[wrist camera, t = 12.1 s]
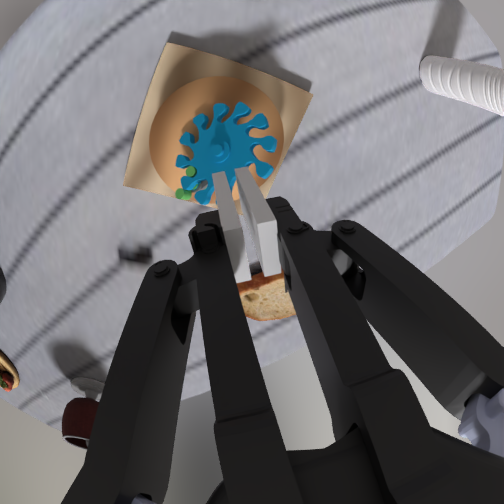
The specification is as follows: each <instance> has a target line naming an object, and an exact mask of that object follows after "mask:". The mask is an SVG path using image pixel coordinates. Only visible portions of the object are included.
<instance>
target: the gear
mask: <svg viewBox="0 0 504 504" xmlns="http://www.w3.org/2000/svg"><path fill="white" fill-rule="evenodd" d="M213 111H214V118H213V121H212V124H211V126H210V127H209V128H208V129H207V130H206V126H207V124H208V122H209V118H208V116H206V115H205V114H203V113H201V114H199V115H197V116H195V117H194V118H193V123H194V124H195V125H196V126H197V128H198V130H199V140H198V141H197V142H196V143H195V137H194V135H193V134H191V133H189V132H185V133H184V134H183V135H182V136H181V138H180V140H179V142H180V143H181V144H183V145H186V146H189V147H190V148H191V149H192V151H193V153H194V157H193V159H192V160H191V161H190V159H189V157H187V156H185V155H182V154H179V155H178V156H177V159H176V164H175V166H176V167H178V168H182V169H185V168H187V169H186V175H187V176H183V177H182V178H181V185H182V188H183V189H182V188H178V189H177V190H176V192H175V196H176V198H177V199H183V200H189V199H190V198H191V196H192V193H195V195H194V197H195V199H196V201H197V202H199V203H200V204H201V205H207V204H209V202H210V200H211V196H212V194H213V192H214V191H215V189H214V183H213V178H212V174H213V173H217V172H222V171H225V174H226V177H227V181H228V184H229V187H230V190H231V193H232V190H233V186H234V184H235V182H236V175H235V169H237V168H242V167H248V168H249V166H250V165H251V164H253V163H255V166H256V173H257V175H258V176H259V177H261V178H264V179H266V178H268V177H269V176H270V175H271V173H272V172H273V170H274V168H273V166H271V165H270V164H268V163H267V162H262V161H260V160H258V158H257V157H256V156H255V154H254V152H253V150H254V147H255V146H257V145H261V146H262V148H263V149H265V150H266V151H267V152H269V153H273V152H275V150H276V147H277V139H275V138H274V137H273V136H265V137H262V138H254V137H251V136H249V132H250V130H251V129H253V128H258V129H261V130H265V129H267V128H268V127H269V123H268V120H267V118H266V116H265V115H264V114H263V113H259V114H257V115H255V117H254V118H253V119H251V120H250V121H248V122H246V123H244V124H239V125H237V121H238V120H239V119H240V118H242V117H246V116H249V115H250V114H251V112H252V110H251V109H250V108H249V107H248V106H247V105H246V104H244V103H242V102H238V103H237V104H236V106H235V109H234V112H233V113H232V115H231V116H230V117H229V118H228V119H227V120H226V121H224V122H223V123H221V120H222V118H223V117H224V116H226V115H227V114H228V112H229V107H228V106H227V105H226V104H223V103H217V104H215V105H214V106H213ZM216 205H217V200H216Z"/></svg>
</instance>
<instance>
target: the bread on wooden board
mask: <svg viewBox="0 0 504 504" xmlns="http://www.w3.org/2000/svg"><path fill="white" fill-rule="evenodd" d="M312 97H313V94H311V93H309V92H307V91H305V90H303V89H301V88H299V87H296V86H294V85H292V84H290V83H288V82H285V81H283V80H281V79H279V78H276V77H274V76H271V75H269V74H267V73H264V72H262V71H259V70H257V69H254V68H251V67H249V66H246V65H243V64H240V63H238V62H235V61H232V60H229V59H226V58H223V57H220V56H217V55H213V54H210V53H207V52H203V51H200V50H196V49H193V48H189V47H185V46H181V45H177V44H173V43H168V42H167V43H166V45H165V48H164V50H163V53H162V55H161V58H160V60H159V63H158V65H157V68H156V71H155V73H154V76H153V79H152V81H151V84H150V87H149V90H148V93H147V96H146V99H145V102H144V105H143V109H142V112H141V115H140V118H139V122H138V125H137V129H136V133H135V136H134V140H133V144H132V148H131V152H130V156H129V160H128V164H127V169H126V173H125V178H124V183H123V186H127V187H131V188H135V189H140V190H144V191H148V192H153V193H157V194H161V195H165V196H169V197H173V198H176V196H175V192H176V190H177V189H178V188H182V185H181V178H182V177H183V176H187V175H186V169H187V168H185V169H182V168H178V167H176V166H175V164H176V159H177V156H178V155H179V154H182V155H185V156H187V157H189V159H190V161H191V160H192V159H193V157H194V153H193V151H192V149H191V148H190V147H189V146H186V145H183V144H181V143H180V142H179V140H180V138H181V136H182V135H183V134H184V133H185V132H189V133H191V134H193V135H194V137H195V143H196V142H197V141H198V140H199V130H198V128H197V126H196V125H195V124H194V123H193V118H194V117H195V116H197V115H199V114H201V113H203V114H205V115H206V116H208V118H209V122H208V124H207V126H206V130H207V129H208V128H209V127H210V126H211V124H212V121H213V118H214V111H213V106H214V105H215V104H217V103H223V104H226V105H227V106H228V107H229V112H228V114H227V115H226V116H224V117H223V118H222V120H221V123H223V122H224V121H226V120H227V119H228V118H229V117H230V116H231V115H232V113H233V112H234V109H235V106H236V104H237V103H238V102H242V103H244V104H246V105H247V106H248V107H249V108H250V109H251V110H252V112H251V114H250V115H249V116H246V117H242V118H240V119H239V120H238V121H237V125H239V124H244V123H246V122H248V121H250V120H251V119H253V118H254V117H255V115H257V114H259V113H263V114H264V115H265V116H266V118H267V120H268V123H269V127H268V128H267V129H265V130H261V129H258V128H253V129H251V130H250V132H249V136H251V137H254V138H262V137H265V136H273V137H274V138H275V139H277V147H276V150H275V152H273V153H269V152H267V151H266V150H265V149H263V148H262V146H261V145H257V146H255V147H254V150H253V152H254V154H255V156H256V157H257V158H258V160H260V161H262V162H267V163H268V164H270V165H271V166H273V168H274V170H273V172H272V173H271V175H270V176H269V177H268V178H266V179H264V178H261V177H259V176H258V175H257V173H256V166H255V163H253V164H251V165H250V166H249V168H248V169H249V171H250V172H251V174H252V176H253V178H254V180H255V181H256V183H257V185H258V187H259V189H260V191H261V192H262V194H263V196H264V198H265V199H266V197H267V195H268V192H269V190H270V188H271V186H272V184H273V181H274V179H275V177H276V175H277V173H278V170H279V168H280V166H281V164H282V162H283V160H284V157H285V155H286V153H287V151H288V149H289V146H290V144H291V142H292V140H293V138H294V136H295V133H296V131H297V129H298V127H299V125H300V123H301V121H302V118H303V116H304V114H305V112H306V110H307V108H308V105H309V103H310V101H311V99H312ZM182 189H183V188H182ZM194 195H195V193H192V196H191V198H190V199H189V200H185V201H189V202H193V203H197V204H200V203H199V202H197V201H196V199H195V197H194ZM232 197H233V200H234V203H235V206H236V210H237V213H238V214H239V215H243V212H242V209H241V204H240V198H239V192H238V186H237V181H236V182H235V184H234V186H233V190H232ZM181 200H183V199H181ZM205 206H209V207H213V208H217V209H218V205H216V194H215V191H214V192H213V194H212V196H211V200H210V202H209V204H207V205H205ZM243 216H244V215H243Z"/></svg>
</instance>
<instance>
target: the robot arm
mask: <svg viewBox="0 0 504 504" xmlns="http://www.w3.org/2000/svg"><path fill="white" fill-rule="evenodd" d="M235 175H236V181H237V186H238V192H239V198H240V204H241V209H242V212H243V215H244V218H245V221H246V224H247V227H248V230H249V233H250V235H251V238H252V241H253V244H254V247H255V250H256V253H257V256H258V259H259V262H260V265H261V268H262V270H263V273H264V276H265V277H267V276H271V275H275V274H280V273H281V266H282V269H283V271H284V283H285V293H287V292H289V295H290V298H291V301H292V303H293V306H294V309H295V312H296V315H297V317H298V320H299V323H300V326H301V329H302V332H303V335H304V337H305V340H306V343H307V346H308V349H309V352H310V355H311V358H312V361H313V364H314V367H315V369H316V372H317V375H318V378H319V381H320V384H321V387H322V390H323V393H324V396H325V399H326V402H327V405H328V408H329V411H330V414H331V418H332V426H333V433H334V437H335V440H336V442H335V443H333V444H331V445H330V446H328V447H326V448H324V449H313V450H294V451H286V449H285V445H284V442H283V439H282V436H281V433H280V429H279V426H278V423H277V420H276V416H275V413H274V411H273V408H272V405H271V402H270V399H269V395H268V392H267V389H266V385H265V382H264V379H263V375H262V372H261V368H260V365H259V362H258V358H257V355H256V351H255V348H254V344H253V341H252V337H251V334H250V330H249V327H248V323H247V319H246V316H245V312H244V309H243V305H242V301H241V298H240V294H239V291H238V287H237V283H240V282H245V281H249V280H251V274H250V269H249V263H248V258H247V252H246V247H245V241H244V236H243V230H242V226H241V223H240V219H239V216H238V213H237V210H236V206H235V203H234V200H233V197H232V193H231V190H230V187H229V184H228V181H227V177H226V174H225V171H222V172H217V173H213V174H212V178H213V183H214V189H215V194H216V200H217V205H218V210H215V211H210V212H206V213H202V214H199V215H198V217H197V218H196V220H195V221H196V226H195V227H193V228H192V229H191V230H190V231H189V239H190V242H191V245H192V248H193V252H194V255H193V256H192V257H191V258H190V259H189V260H187V261H185V262H183V263H181V264H179V265H177V263H176V262H175V261H172V260H162V261H159V262H157V263H155V264H153V265H152V266H151V267H150V268H149V269H148V270H147V272H146V274H145V277H144V279H143V281H142V284H141V286H140V289H139V291H138V293H137V296H136V298H135V301H134V303H133V306H132V308H131V311H130V313H129V316H128V319H127V321H126V324H125V326H124V329H123V332H122V335H121V337H120V340H119V343H118V346H117V349H116V351H115V354H114V357H113V360H112V363H111V366H110V369H109V372H108V375H107V379H106V382H105V385H104V388H103V391H102V395H101V398H100V402H99V405H98V409H97V412H96V416H95V420H94V423H93V427H92V431H91V435H90V439H89V444H88V448H87V452H86V457H85V462H84V465H83V467H82V469H81V470H80V472H79V474H78V475H77V477H76V479H75V480H74V482H73V484H72V485H71V487H70V489H69V490H68V492H67V494H66V496H65V497H64V499H63V501H62V502H61V504H162V503H163V501H164V498H165V495H166V491H167V488H168V483H169V477H170V469H171V462H172V454H173V447H174V440H175V433H176V425H177V419H178V412H179V406H180V400H181V394H182V388H183V382H184V376H185V370H186V364H187V359H188V353H189V348H190V342H191V337H192V332H193V327H194V322H195V317H196V311H197V310H199V309H200V316H201V324H202V332H203V340H204V347H205V354H206V361H207V367H208V374H209V380H210V386H211V392H212V397H213V404H214V409H215V416H216V421H215V423H214V434H215V440H216V445H217V451H218V456H219V460H220V465H221V470H222V474H223V479H224V480H223V481H222V482H221V483H220V484H219V485H218V486H217V487H216V489H215V490H214V492H213V493H212V495H211V496H210V498H209V500H208V501H207V503H206V504H504V347H502V346H501V345H500V344H499V343H498V342H497V341H496V340H495V339H494V337H493V336H491V334H490V333H489V332H488V331H486V329H485V328H484V327H482V325H480V324H479V323H478V322H477V321H476V320H475V319H474V318H473V317H472V316H471V315H470V314H469V313H468V312H467V311H466V310H465V309H464V308H462V307H461V306H460V305H459V304H458V303H457V302H456V301H455V300H454V299H453V298H451V297H450V296H449V295H448V294H447V293H446V292H444V290H442V289H441V288H440V287H439V286H438V285H437V284H436V283H434V282H433V281H432V280H431V279H430V278H428V277H427V276H426V275H425V274H424V273H422V272H421V271H420V270H419V269H418V268H416V267H415V266H414V265H413V264H411V263H410V262H409V261H408V260H406V259H405V258H404V257H403V256H401V255H400V254H399V253H398V252H396V251H395V250H394V249H392V248H391V247H390V246H389V245H387V244H386V243H385V242H383V241H382V240H381V239H379V238H378V237H377V236H375V235H374V234H373V233H371V232H370V231H369V230H367V229H366V228H364V227H363V226H362V225H360V224H359V223H357V222H355V221H351V220H341V221H337V222H335V223H334V224H333V225H332V229H331V231H316V230H313V228H312V226H311V225H309V224H308V223H306V222H304V221H301V220H300V219H299V217H298V216H297V214H296V213H295V211H294V210H293V208H292V207H291V206H290V204H289V202H288V201H287V200H286V199H284V198H282V197H280V196H279V197H274V198H269V199H265V198H264V196H263V194H262V192H261V191H260V189H259V187H258V185H257V183H256V181H255V180H254V178H253V176H252V174H251V172H250V171H249V169H248V167H242V168H237V169H235ZM359 266H360V267H361V268H362V269H363V270H362V269H360V268H359ZM5 294H6V282H5V279H4V276H3V273H2V271H1V269H0V303H1V302H2V300H3V298H4V296H5ZM366 320H367V321H368V322H369V323H370V324H371V325H372V326H373V327H374V329H375V330H376V331H377V332H378V333H379V334H380V335H381V336H382V337H383V339H384V340H385V341H386V342H387V343H388V344H389V345H390V346H391V348H392V349H393V350H394V351H395V352H396V353H397V354H398V355H399V356H400V358H401V359H402V360H403V361H404V362H405V363H406V364H407V366H408V367H409V368H410V369H411V370H412V372H413V373H414V374H415V375H416V376H417V377H418V378H419V380H420V381H421V382H422V383H423V384H424V385H425V387H426V388H427V389H428V390H429V391H430V393H431V394H432V395H433V396H434V397H435V399H436V400H437V401H438V402H439V403H440V404H441V405H442V406H443V407H444V408H445V409H446V410H447V411H448V412H449V413H451V414H452V415H453V416H454V417H456V418H457V419H459V420H461V424H460V425H459V428H458V433H459V435H460V436H461V437H463V438H466V437H467V438H468V439H469V440H470V441H471V443H472V445H471V444H469V443H466V442H464V441H462V440H459V439H457V438H455V437H452V436H450V435H448V434H446V433H444V432H441V431H439V430H437V429H435V428H433V427H430V425H429V423H428V420H427V418H426V416H425V414H424V411H423V409H422V407H421V405H420V403H419V401H418V398H417V396H416V394H415V392H414V390H413V388H412V386H411V384H410V382H409V380H408V378H407V377H406V375H405V374H404V373H403V372H402V371H401V370H400V369H393V368H392V367H391V366H390V365H389V363H388V361H387V359H386V357H385V355H384V353H383V351H382V349H381V347H380V345H379V343H378V341H377V339H376V338H375V336H374V334H373V332H372V330H371V328H370V326H369V324H368V322H367V321H366Z"/></svg>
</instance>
